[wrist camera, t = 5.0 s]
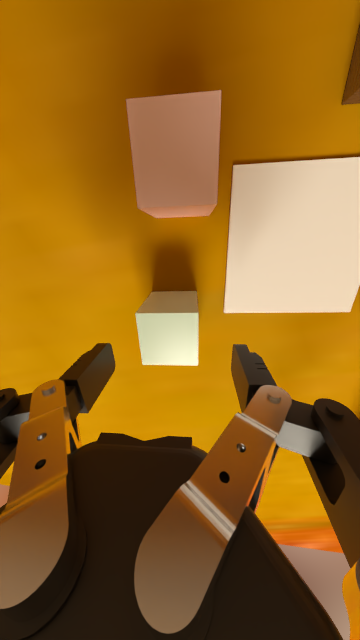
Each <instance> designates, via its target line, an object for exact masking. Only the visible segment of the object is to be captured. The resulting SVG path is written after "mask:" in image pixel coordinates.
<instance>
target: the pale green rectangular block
mask: <svg viewBox="0 0 360 640" xmlns="http://www.w3.org/2000/svg"><path fill="white" fill-rule="evenodd" d="M135 314H136V321H137V328H138V335H139V342H140V350H141V357H142V364H143V365H198V300H197V291H156V292H151V294H150V295H149V296H148V298H147V299H146V300H145V302H144V303H143V304H142V305H141V307H140V308H139V309H138V311H137V312H136V313H135Z"/></svg>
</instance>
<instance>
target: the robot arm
mask: <svg viewBox="0 0 360 640" xmlns="http://www.w3.org/2000/svg"><path fill="white" fill-rule="evenodd" d="M114 370H115V360H114V355H113V351H112V346H111V344H110V343H98V344H96V345H95V347H94V348H93V349H92V350H91V351H88V352H86V353H85V354H83V355H82V356H81V357H80V358H79V359H78V360H77V361H76V362H75V363H74V364H73V366H71V367H70V368H69V369H68V370H67V371H66V372H65V373H64V374H63V375H62V376H61V377H60V378H59V379H58V380H51V381H48V382H45V383H43V384H42V385H40V386H38V387H37V388H36V389H35V390H34V391H33V393H29V394H24V395H19V396H18V394H17V392H16V390H15V389H13V388H7V389H2V390H0V478H1V477H2V476H3V475H4V473H5V472H6V471H7V469H8V468H9V467H10V465H11V464H12V463H13V462H14V466H13V472H12V477H11V483H10V489H9V495H8V501H7V503H6V504H5V505H3V506H2V507H1V508H0V640H343V638H342V637H341V635H340V633H339V631H338V629H337V628H336V626H335V624H334V623H333V621H332V619H331V618H330V616H329V615H328V613H327V612H326V610H325V609H324V607H323V606H322V605H321V603H320V602H319V600H318V599H317V598H316V596H315V595H314V594H313V592H312V591H311V590H310V588H309V587H308V585H307V584H306V583H305V581H304V580H303V579H302V577H301V576H300V575H299V573H298V572H297V570H296V569H295V568H294V567H293V565H292V564H291V562H290V561H289V560H288V558H287V557H286V555H285V554H284V553H283V552H282V550H281V549H280V547H279V546H278V544H277V543H276V542H275V540H274V539H273V538H272V536H271V535H270V534H269V532H268V531H267V529H266V528H265V527H264V525H263V524H262V523H261V521H260V520H259V519H258V517H257V516H256V514H255V512H256V509H257V507H258V504H259V502H260V499H261V496H262V493H263V490H264V487H265V484H266V481H267V478H268V476H269V473H270V471H271V468H272V466H273V463H274V461H275V458H276V455H277V453H278V450H279V448H280V447H282V448H285V449H288V450H290V451H293V452H296V453H299V454H302V456H303V459H304V461H305V463H306V466H307V468H308V470H309V473H310V475H311V477H312V480H313V482H314V484H315V487H316V489H317V491H318V494H319V496H320V498H321V501H322V503H323V505H324V508H325V510H326V512H327V515H328V517H329V519H330V522H331V524H332V526H333V529H334V531H335V533H336V536H337V538H338V540H339V543H340V545H341V547H342V550H343V552H344V554H345V556H346V559H347V561H348V564H349V566H350V568H351V569H350V570H349V572H348V573H347V574H346V575H345V576H344V579H343V584H342V590H343V591H342V592H343V598H344V602H345V605H346V609H347V613H348V616H349V622H350V640H360V420H359V419H358V418H357V417H356V415H355V414H354V413H353V412H352V411H351V410H350V409H349V408H347V407H346V406H344V405H343V404H341V403H339V402H337V401H334V400H331V399H323V398H322V399H318V400H316V401H315V402H314V405H309V404H306V403H302V402H298V401H295V400H293V399H291V397H290V395H289V394H288V393H287V392H286V391H285V390H283V389H282V388H279V387H277V385H276V383H275V381H274V380H273V378H272V376H271V374H270V372H269V370H268V369H267V367H266V365H265V363H264V361H263V359H262V358H261V357H260V356H259V355H258V354H256V353H250V352H249V350H248V347H247V345H243V344H234V345H233V351H232V363H231V371H232V377H233V381H234V384H235V388H236V392H237V396H238V400H239V403H240V407H241V411H242V414H240V413H237V414H236V415H235V416H234V417H233V419H232V420H231V421H230V423H229V424H228V426H227V427H226V429H225V430H224V431H223V433H222V434H221V436H220V437H219V438H218V440H217V441H216V443H215V444H214V446H213V447H212V448H211V450H210V451H209V453H206V452H205V451H203V450H201V449H199V448H197V447H195V446H192V437H176V436H167V437H162V438H157V439H152V440H147V441H142V440H139V439H136V438H133V437H131V436H128V435H125V434H118V433H101V434H100V436H99V438H98V440H97V441H95V442H92V443H89V444H86V445H84V446H82V445H81V438H80V431H79V424H78V419H77V415H78V414H79V413H89V411H90V409H91V408H92V406H93V404H94V403H95V401H96V400H97V398H98V396H99V395H100V393H101V392H102V390H103V388H104V387H105V385H106V384H107V382H108V380H109V379H110V377H111V376H112V374H113V372H114Z"/></svg>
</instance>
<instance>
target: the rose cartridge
mask: <svg viewBox="0 0 360 640" xmlns="http://www.w3.org/2000/svg"><path fill="white" fill-rule="evenodd" d="M126 105H127V114H128V123H129V132H130V141H131V151H132V160H133V169H134V178H135V187H136V196H137V206H138V209H140V210H142V211H144V212H146V213H148V214H150V215H151V216H153V217H155V218H171V217H192V216H209V215H210V213H211V212H212V211H213V209H214V208H215V206H216V205H217V194H218V168H219V142H220V116H221V90H216V91H206V92H195V93H185V94H174V95H163V96H153V97H142V98H132V99H126Z"/></svg>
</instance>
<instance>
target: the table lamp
mask: <svg viewBox="0 0 360 640" xmlns="http://www.w3.org/2000/svg"><path fill="white" fill-rule="evenodd" d="M354 103H360V26H359V30H358V34H357V39H356V43H355V48H354V52H353V56H352V61H351V65H350V70H349V74H348V78H347V83H346V87H345V92H344V96H343V100H342V105H343V104H354Z"/></svg>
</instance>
